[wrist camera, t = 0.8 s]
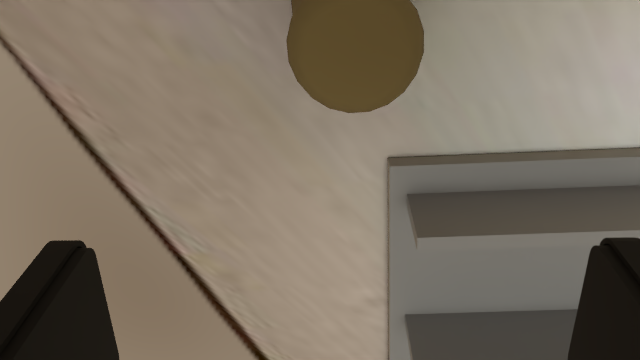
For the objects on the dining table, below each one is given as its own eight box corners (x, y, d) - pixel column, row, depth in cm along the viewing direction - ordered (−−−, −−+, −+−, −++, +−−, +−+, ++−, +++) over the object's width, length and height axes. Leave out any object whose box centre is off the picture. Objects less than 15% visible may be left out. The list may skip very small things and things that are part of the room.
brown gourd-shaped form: (398, 63, 32) (427, 142, 23) (287, 53, 32) (268, 128, 22) (415, -55, 30) (456, -25, 20) (294, -67, 30) (276, -41, 20)
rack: (666, 146, 34) (728, 195, 29) (605, 420, 44) (643, 494, 39) (387, 157, 35) (398, 207, 30) (388, 425, 45) (395, 499, 39)
